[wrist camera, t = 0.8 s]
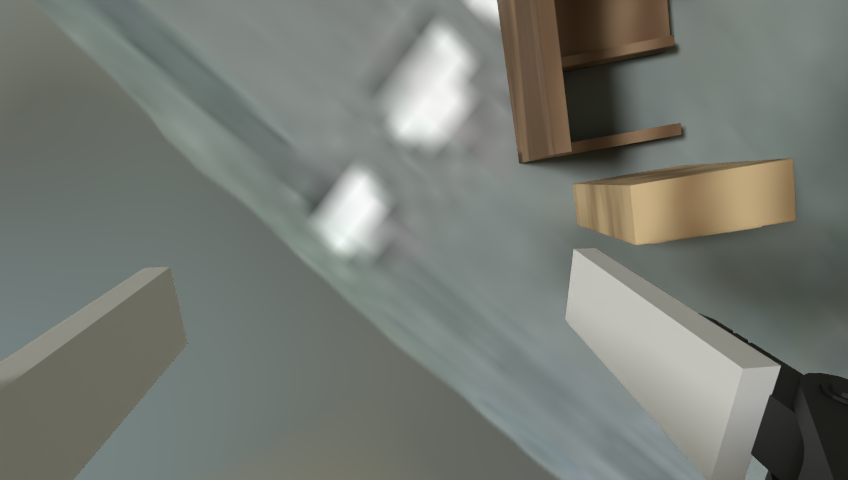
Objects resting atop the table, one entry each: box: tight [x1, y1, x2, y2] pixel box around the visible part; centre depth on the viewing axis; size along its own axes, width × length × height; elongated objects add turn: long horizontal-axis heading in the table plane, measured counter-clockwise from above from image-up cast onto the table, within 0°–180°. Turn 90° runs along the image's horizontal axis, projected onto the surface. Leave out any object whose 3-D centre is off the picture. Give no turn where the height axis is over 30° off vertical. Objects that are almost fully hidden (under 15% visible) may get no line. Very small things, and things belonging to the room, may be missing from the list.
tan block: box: [573, 158, 796, 245], centre depth 31 cm, size 10×4×12 cm, turn 100°
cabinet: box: [497, 0, 681, 163], centre depth 29 cm, size 14×16×13 cm
